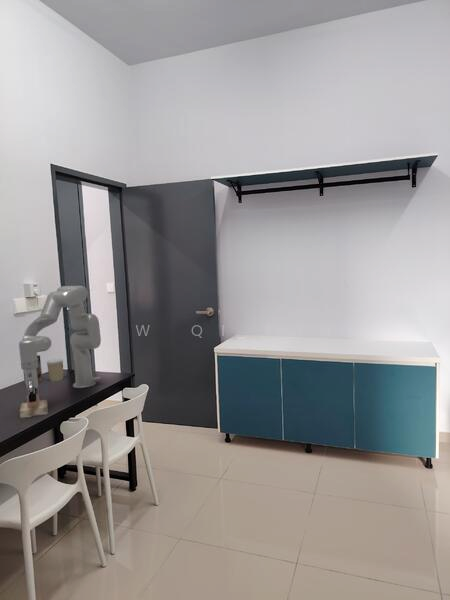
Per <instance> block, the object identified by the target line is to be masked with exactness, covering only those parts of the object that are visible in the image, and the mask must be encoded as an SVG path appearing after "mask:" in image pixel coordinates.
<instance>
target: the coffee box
mask: <svg viewBox="0 0 450 600" xmlns="http://www.w3.org/2000/svg"><path fill="white" fill-rule="evenodd" d="M37 358H38V367H37V368H36V369H37V377H38V384H39V383H41V382H43V374H42V363H41V355H40V354H39V355H38V354H37ZM22 371H23V372H22V373H23V381H24V385H25V386H26V380H25V372H24V370H22Z"/></svg>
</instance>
